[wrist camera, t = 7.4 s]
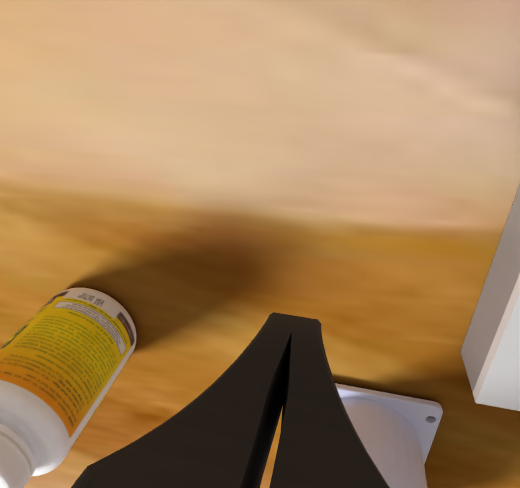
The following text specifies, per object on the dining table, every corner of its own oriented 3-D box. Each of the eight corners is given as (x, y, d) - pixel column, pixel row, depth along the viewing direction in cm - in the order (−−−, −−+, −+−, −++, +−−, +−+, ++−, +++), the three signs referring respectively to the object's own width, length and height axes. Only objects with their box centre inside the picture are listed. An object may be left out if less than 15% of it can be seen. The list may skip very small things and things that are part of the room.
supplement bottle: (58, 267, 25) (-104, 410, 16) (150, 306, 25) (38, 469, 17) (46, 337, 28) (-97, 491, 19) (129, 372, 28) (24, 542, 19)
